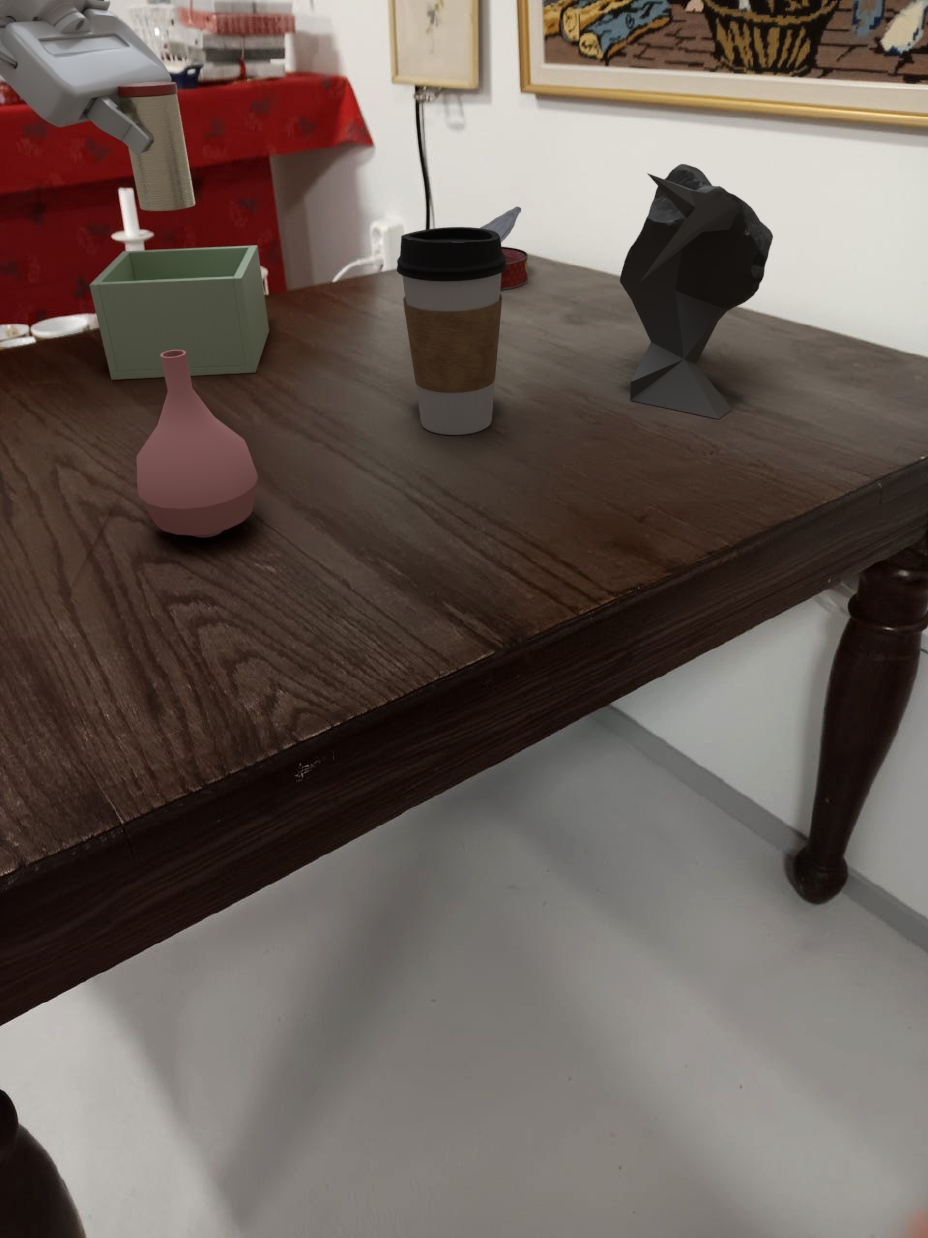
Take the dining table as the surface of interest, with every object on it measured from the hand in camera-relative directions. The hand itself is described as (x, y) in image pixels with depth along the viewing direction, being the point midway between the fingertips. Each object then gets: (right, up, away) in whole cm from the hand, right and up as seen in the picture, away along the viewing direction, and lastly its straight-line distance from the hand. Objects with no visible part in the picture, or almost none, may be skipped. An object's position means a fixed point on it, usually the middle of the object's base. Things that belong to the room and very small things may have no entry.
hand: (162, 142), depth 87 cm
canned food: (+30, -1, +32) cm, 44 cm away
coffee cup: (+27, -27, -7) cm, 38 cm away
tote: (0, -16, +10) cm, 19 cm away
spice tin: (0, -4, +3) cm, 5 cm away
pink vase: (+10, -37, -22) cm, 44 cm away
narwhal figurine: (+47, -21, +1) cm, 51 cm away
